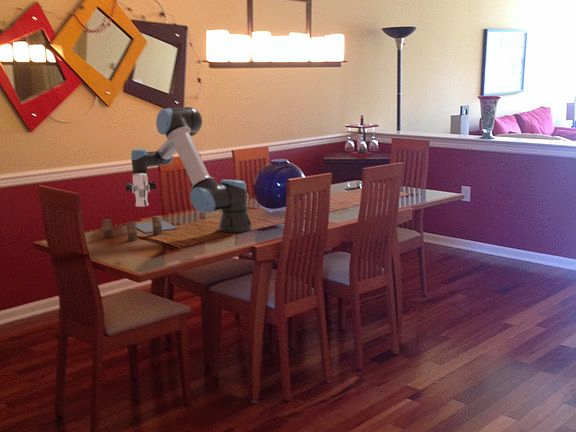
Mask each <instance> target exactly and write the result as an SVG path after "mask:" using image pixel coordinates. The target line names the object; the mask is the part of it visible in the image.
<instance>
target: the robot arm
mask: <svg viewBox="0 0 576 432" xmlns="http://www.w3.org/2000/svg"><path fill="white" fill-rule="evenodd" d="M155 122H156V125H155V126H156V130H157V132H158V133H159V134H161V135H162V136H164V135H165V137H166V138H167V139H166V140H165V141H164V143H163V144H162V145H161V146H160V147H158V150H155V151H147V150H146V148H134V149H132V150H131V152H130V153H131V154H130V157H131V158H130V159H131V166H132V175H133V174H137V173H146V174H147V178H148V179H149V172H148V168H149V167H151V168H152V167H157V166H158V167H159V166H167V165H171V164H172V162H173V160H174V155H175V154H176V153H177V155H178V157H179V159H180V160H181V162H182V165H183V167H184V169H185V171H186V173H187V175H188V177H189V179H190V182H191V184H192V186H191V188H190V189H191V191H190V194H189V198H190V202H191V205H192V207H193V209H195V210H196V211H197V212H198V213H202V214H203V213H204V214H205V213H212V212H216V211H221V217H220V220H219V223H218V231H220V232H224V233H240V232H243V233H244V232H247V231H251V230H252V227H253V226H252V222H251V219H250V216H249V212H248V204H247V203H248V201H247V194H248V191H247V190H248V189H247V184H246V182H245V181H243V180H240V179H221V180H220V182H219V183H217V181H216V179H215V177H212V176H211V175H210V174H209V172H208V170H207V168H206V166H205V163H204V161H203V159H202V157H201V156H200V153H199V151H198V149H197V147H196V145H195V142H194V141H193V138H192V137H193V136H195V135H196V134H197V133H198V132H199V131H200V130H201V128H202V126H203V118H202V115H201V113H200V112H199V111H198V110H197V109H196V108H193V107H191V106H186V107H185V106H183V107H173V108H171V107H168V108H163V109H160V111H158V113H157V116H156V121H155ZM156 186H157V184H156V182H155V180H152V181H150V182H149V181H148V193H151V191H152V190H156V189H157V187H156ZM125 191H126V192H130V193H132V194H135V192H134V186H133V182H126V185H125Z"/></svg>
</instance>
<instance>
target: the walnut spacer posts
mask: <svg viewBox="0 0 576 432" xmlns="http://www.w3.org/2000/svg"><path fill="white" fill-rule="evenodd" d="M161 221H162V216H161V215H154V216H151V222H152V224H153V232H152V235H153V234H154V236H159V234H160V235H162V234H163V231H162V226H161ZM112 222H113V221H112V219H110V218H109V219H108V218H106V219H105V218H104V219H102V234H103V239H112V238H113V237H114V236H113V235H114V234H113V225H112V224H113V223H112ZM136 224H137V221H127V222H126V233H127V241H128V242H134V241H135V242H137V240H138V234H137V233H138V232H137V230H138V229H137V228H136Z"/></svg>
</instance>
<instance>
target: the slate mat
mask: <svg viewBox="0 0 576 432" xmlns="http://www.w3.org/2000/svg"><path fill="white" fill-rule="evenodd" d="M161 226H162V232H165V230H167V231H172V230H173V229H174V230H178V229H179V227H178V226H175V225H173V224H171V223H169V222H167V221H166V220H161ZM136 230H139V232H142V233H144V234H150V233H152V234H153V224H152V221H151V222H142V223H136Z"/></svg>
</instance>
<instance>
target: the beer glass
mask: <svg viewBox="0 0 576 432" xmlns="http://www.w3.org/2000/svg"><path fill="white" fill-rule="evenodd" d="M148 182H149V177H148V178H147V174H146V173H137V174H133V173H132V183H133V186H134V196H135V207H138V208H140V207H141V208H142V207H147V206H149V201H148V194H149V192H148Z"/></svg>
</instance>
